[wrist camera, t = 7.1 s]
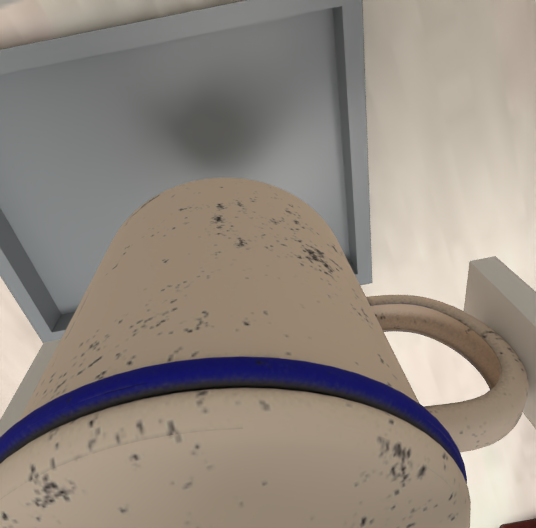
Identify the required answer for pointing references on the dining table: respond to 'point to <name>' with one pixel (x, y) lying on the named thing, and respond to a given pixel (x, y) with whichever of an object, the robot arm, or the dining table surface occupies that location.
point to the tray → (175, 132)
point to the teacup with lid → (246, 384)
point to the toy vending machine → (521, 524)
